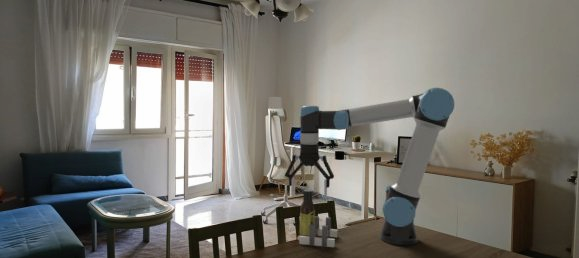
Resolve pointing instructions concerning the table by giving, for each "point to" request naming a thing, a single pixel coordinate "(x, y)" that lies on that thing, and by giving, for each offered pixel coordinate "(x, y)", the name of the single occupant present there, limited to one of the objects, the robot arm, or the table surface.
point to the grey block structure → (320, 234)
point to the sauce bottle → (307, 213)
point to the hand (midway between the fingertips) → (309, 194)
